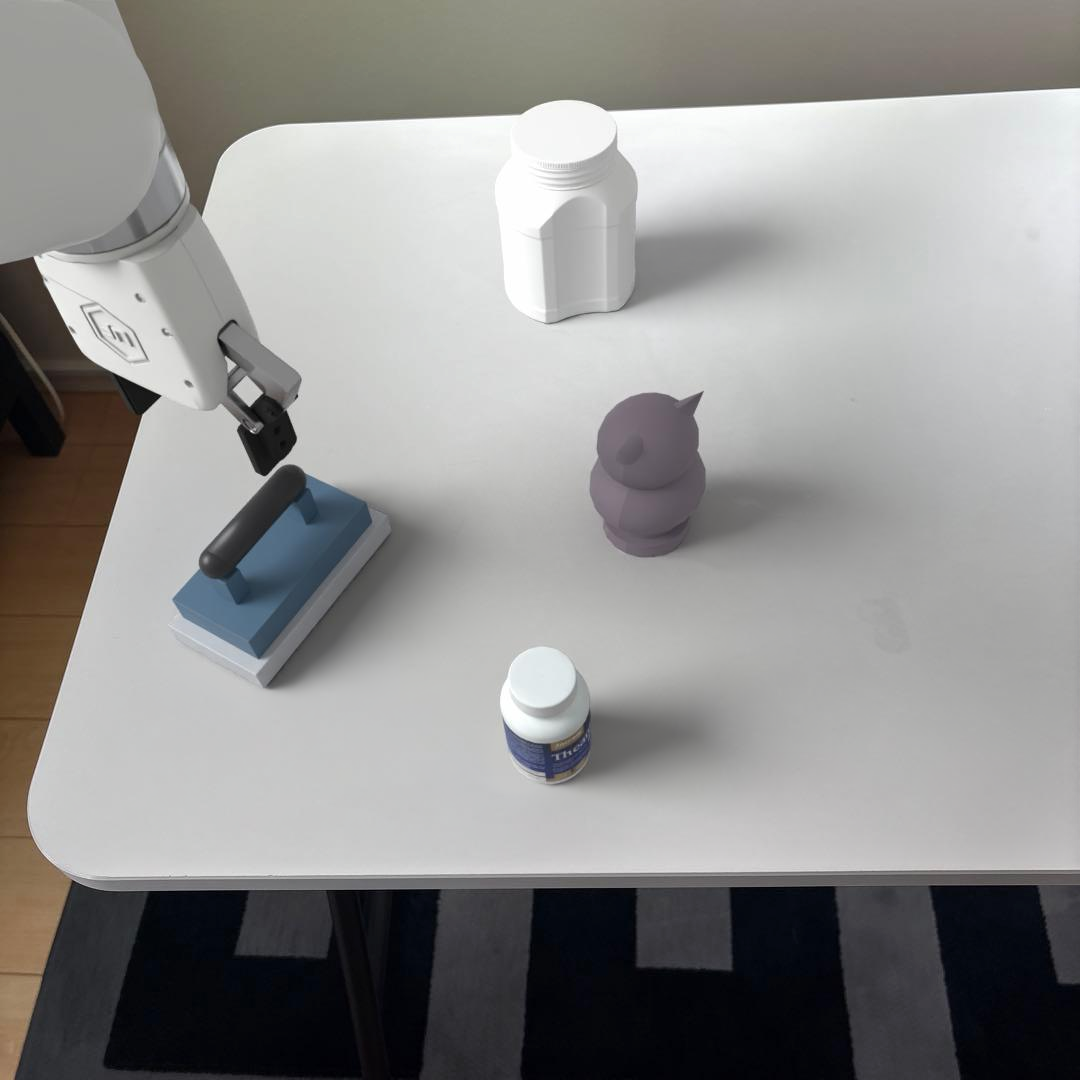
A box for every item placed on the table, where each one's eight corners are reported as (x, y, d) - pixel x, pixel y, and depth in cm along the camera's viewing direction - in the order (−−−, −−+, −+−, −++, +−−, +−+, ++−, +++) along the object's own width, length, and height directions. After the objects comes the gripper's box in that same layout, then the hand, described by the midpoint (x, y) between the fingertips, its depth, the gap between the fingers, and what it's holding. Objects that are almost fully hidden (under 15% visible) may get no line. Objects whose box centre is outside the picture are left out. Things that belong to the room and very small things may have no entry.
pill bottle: (564, 801, 66) (558, 735, 59) (493, 761, 68) (477, 691, 60) (607, 733, 69) (606, 660, 61) (537, 695, 71) (527, 620, 63)
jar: (619, 235, 97) (620, 83, 85) (647, 305, 92) (653, 153, 79) (496, 258, 96) (479, 108, 84) (516, 330, 91) (502, 181, 79)
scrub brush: (307, 490, 82) (276, 410, 74) (392, 531, 79) (368, 451, 72) (176, 639, 75) (127, 567, 67) (264, 689, 72) (223, 619, 65)
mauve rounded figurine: (648, 459, 82) (653, 346, 72) (725, 518, 78) (741, 407, 69) (567, 522, 79) (560, 413, 69) (643, 586, 75) (647, 481, 66)
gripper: (-90, 178, 50) (64, 418, 64) (184, 295, 44) (288, 530, 58) (27, 93, 54) (149, 339, 68) (295, 192, 48) (368, 437, 62)
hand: (213, 427), depth 63 cm, fingers open, 9 cm apart
